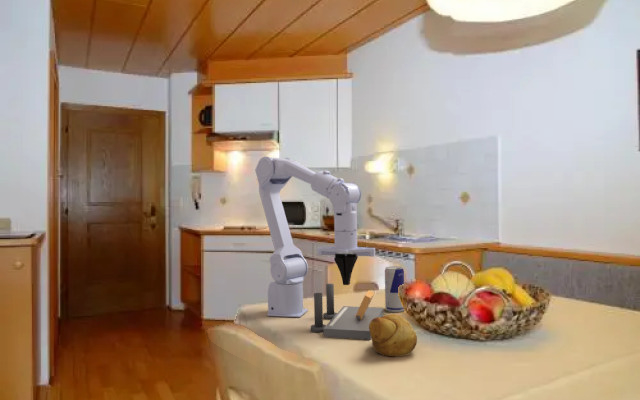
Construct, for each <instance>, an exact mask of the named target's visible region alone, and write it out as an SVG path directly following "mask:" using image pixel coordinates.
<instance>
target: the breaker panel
mask: <svg viewBox="0 0 640 400" xmlns="http://www.w3.org/2000/svg"><path fill="white" fill-rule="evenodd" d="M359 307H360V306H351V305H350V306H345V305H343V306H342V307H341V308H340V309H339V311H337V312H336V313H337V314H336V315H335V316H334V317H333V318H332V320H329V322H327V324H325V325H326V326H325V327H324V328H323V330H324V332H323V338H331V337H333V338H334V339H335V338H336V339H347V338H351V339H352V340H363V341H365V340H367V341H368V340H369V341H372V338H371V335H370V330H369V324H370V322H371V321H372V320H373V319H374V318H377V317H382V316H384V307H375V306H374V307H372V306H371V307H369V306H368V309H367V311H366V313H365V315H364V316H363V318H362V319H361V320H357V319H356V317H355V316H356V314H357V312H358V309H359ZM351 339H350V340H351Z"/></svg>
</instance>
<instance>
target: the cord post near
mask: <svg viewBox="0 0 640 400" xmlns="http://www.w3.org/2000/svg"><path fill="white" fill-rule="evenodd" d="M313 305H314V306H313V307H314V308H313V309H314V310H313V311H314V324H312V325H310V332H312V333H315V334H321V333H322V332H323V333H324V330H323V328H324V327H325V326H326V325H327V324H324V318H323V314H324V312H323V311H324V310H323V292H314V293H313Z"/></svg>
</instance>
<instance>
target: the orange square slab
mask: <svg viewBox="0 0 640 400" xmlns="http://www.w3.org/2000/svg"><path fill="white" fill-rule="evenodd" d="M374 295H375V292H374V291H372V290H368V291H367V292H366V293H365V295H364V297H363V298H362V300H361V303H360V305H359V306H358V307H359V309H358V312H357V314H356V316H355V317H356V319H357V320H361V319H362V318H363V316H364V315H365V313H366V311H367V309H368V307H369V306H370V304H371V302H372V300H373V297H374Z"/></svg>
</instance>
